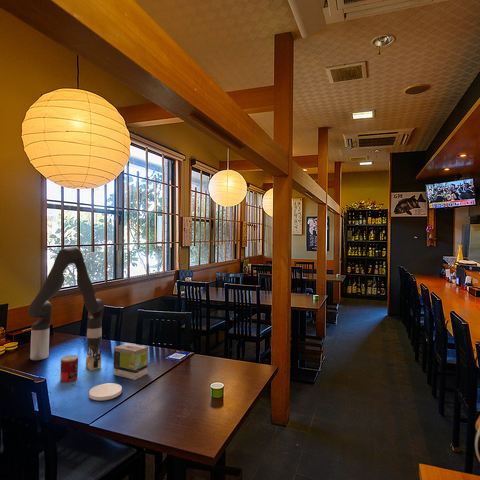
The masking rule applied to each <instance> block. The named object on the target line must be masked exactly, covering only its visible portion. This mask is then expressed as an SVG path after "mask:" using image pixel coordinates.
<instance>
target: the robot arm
mask: <svg viewBox="0 0 480 480" xmlns="http://www.w3.org/2000/svg"><path fill="white" fill-rule="evenodd" d="M84 259H85V258H84V256H83V253H82V251H81V249H80V248H79V247H77V246H70V247H64V248H61V249H60V250H59V251H58V253H57V254H56V257H55V260H54V262H53V265H52V267H51V269H50V271H49V273H48V275H47V277H46V278H45V280H44V281H43V284H42V286H41V287H40V290H39V291H38V293H37V295H36V296H35V297H34V299H33V300H32V302H30V304H29V307H28V309H27V310H28V313H27V314H28V316H29V317H30V318H32V319H37V321H36V322H34V323H32V324H31V326H30V327H31V330H30V331H31V332H30V333H31V334H30V355H29V359H30V360H32V361H40V360H45V359H47V358H49V351H50V349H49V348H50V326H51V323H52V311H53V310H52V308H53V307H52V306H53V305H52V303H51V302H50V301H49V300H50V299H51V298H53V297H54V296H56V295H57V293H59V292H60V290H61V289H62V287H63V285H64V284H65V276H64V272H65V271H66V269H67V267H68V266H69V265H72V264H74V266H75V268H76V271H77V272H76V273H77V276H76V278H77V279H76V280H77V281H76V283H77V288H78V290H79V292H80V293H81V295H82V299H83V303H84V307H85V309H86V310H87V312H88V313H90V316H89V318H88V320H87V331H86V353H87V355H86V356H90V355H92V357H93V360H94V365H93V367H94V368H97V367H98V360H100V357H101V358H102V356H101V355H102V354H101V353H102V349H100V347H99V345H101V344H102V338H103V337H102V336H103V335H102V333H103V330H102V328H103V327H102V324H103V323H102V319H103V315H104V310H105V303H104V301H103V300H102V299H100V298H96V293H97V291H96V289H95V286H94V285H93V283H92V281H91V278H90V276H89V272H88V270H87V266H86V263H85V260H84ZM97 369H98V368H97Z"/></svg>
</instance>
